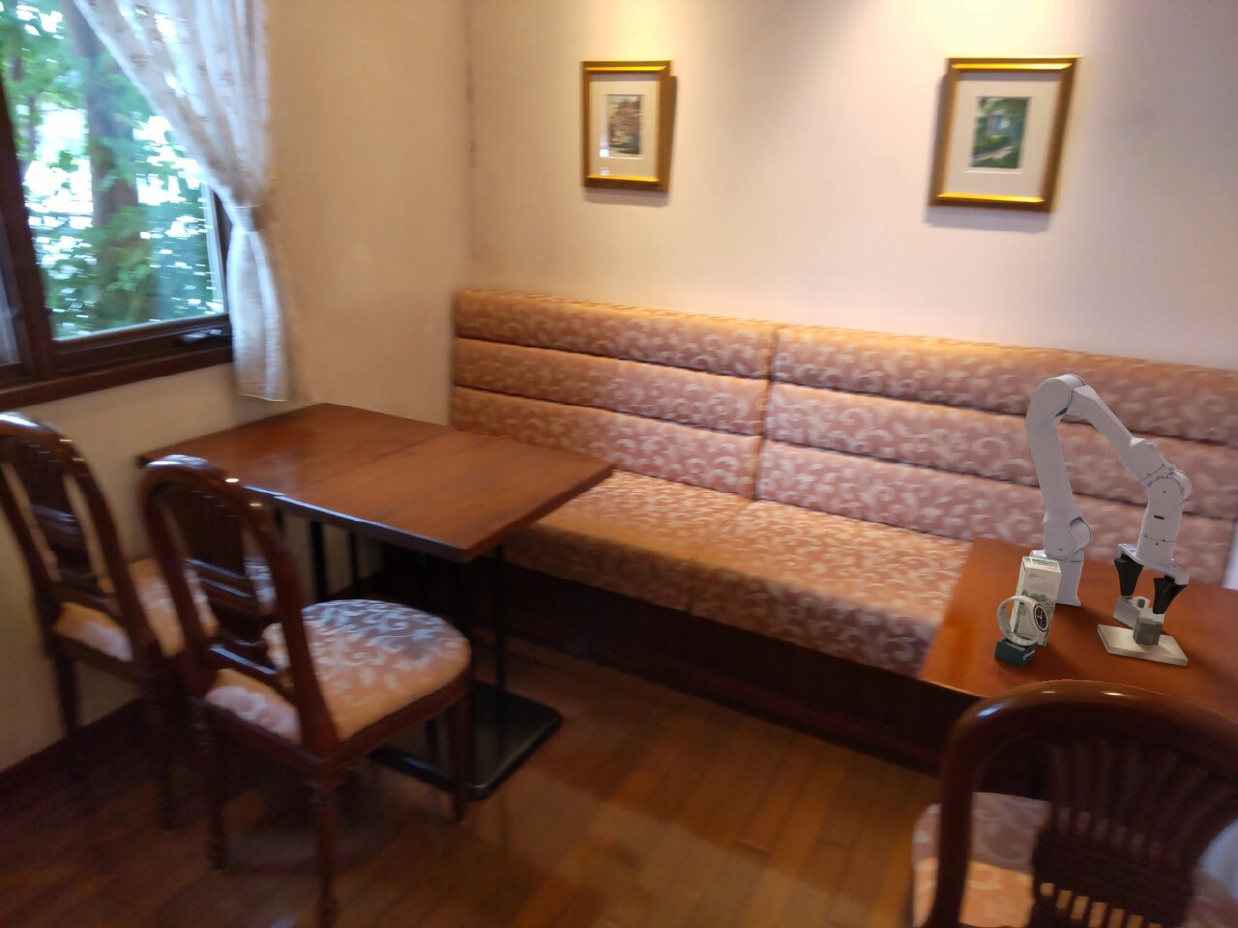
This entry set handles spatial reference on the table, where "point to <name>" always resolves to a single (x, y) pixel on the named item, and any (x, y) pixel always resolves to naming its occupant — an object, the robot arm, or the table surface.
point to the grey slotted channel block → (1134, 610)
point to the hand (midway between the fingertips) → (1142, 604)
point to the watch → (1017, 646)
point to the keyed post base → (1142, 642)
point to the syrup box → (1035, 593)
